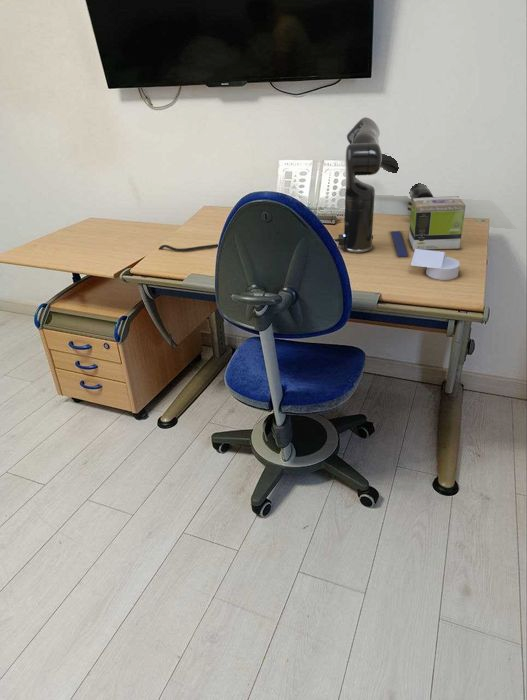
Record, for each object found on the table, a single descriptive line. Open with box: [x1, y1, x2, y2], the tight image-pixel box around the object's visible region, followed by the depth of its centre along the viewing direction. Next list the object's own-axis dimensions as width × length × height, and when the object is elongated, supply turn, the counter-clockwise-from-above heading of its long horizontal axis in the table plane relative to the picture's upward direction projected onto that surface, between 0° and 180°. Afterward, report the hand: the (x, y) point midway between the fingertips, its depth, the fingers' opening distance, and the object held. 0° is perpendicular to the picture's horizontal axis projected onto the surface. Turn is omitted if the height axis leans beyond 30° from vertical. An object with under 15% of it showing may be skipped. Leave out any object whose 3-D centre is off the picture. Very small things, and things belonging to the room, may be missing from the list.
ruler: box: [391, 230, 408, 258], centre depth 170 cm, size 3×22×1 cm, turn 173°
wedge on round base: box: [410, 249, 461, 281], centre depth 149 cm, size 9×7×13 cm
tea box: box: [408, 195, 466, 251], centre depth 164 cm, size 15×10×15 cm
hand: (429, 213), depth 175 cm, fingers closed
